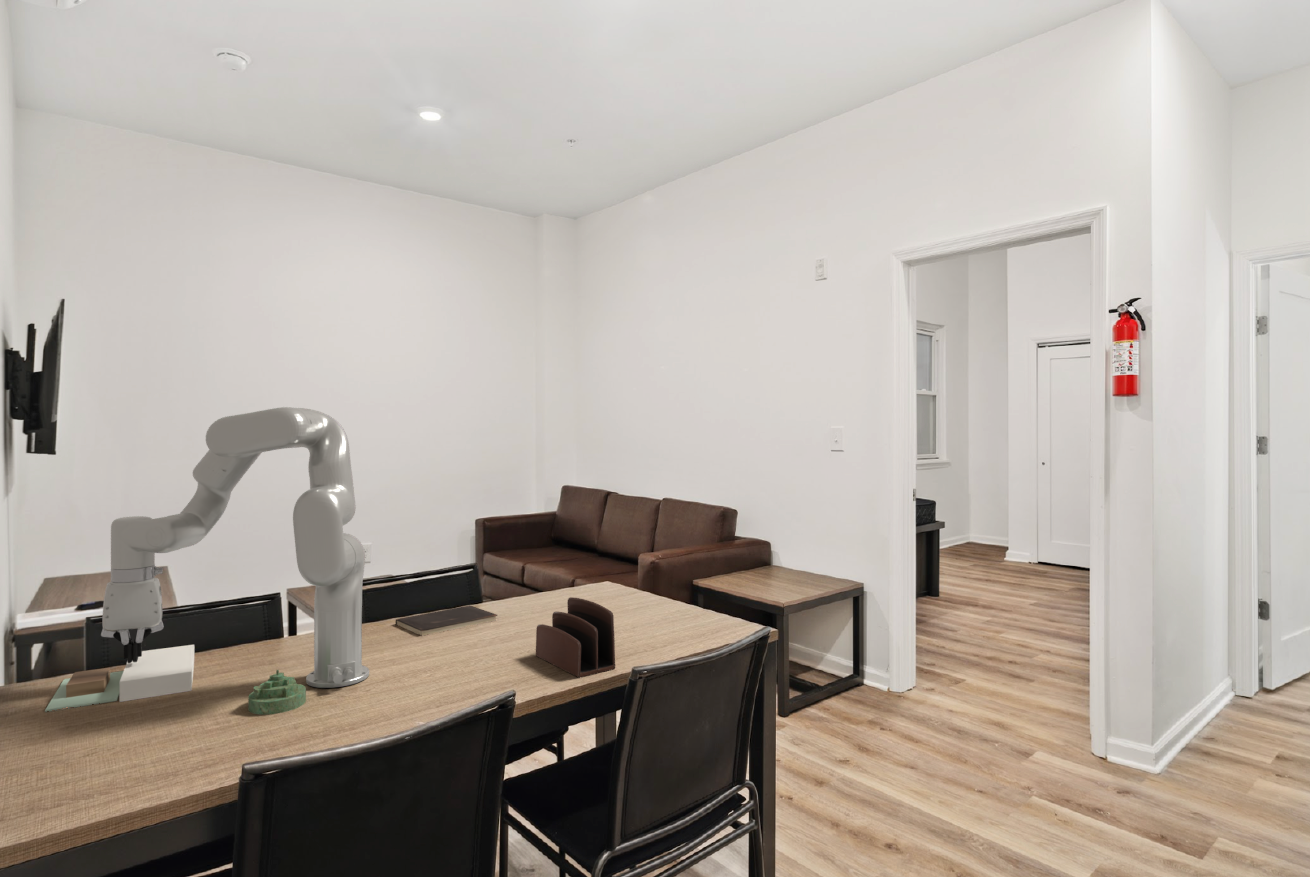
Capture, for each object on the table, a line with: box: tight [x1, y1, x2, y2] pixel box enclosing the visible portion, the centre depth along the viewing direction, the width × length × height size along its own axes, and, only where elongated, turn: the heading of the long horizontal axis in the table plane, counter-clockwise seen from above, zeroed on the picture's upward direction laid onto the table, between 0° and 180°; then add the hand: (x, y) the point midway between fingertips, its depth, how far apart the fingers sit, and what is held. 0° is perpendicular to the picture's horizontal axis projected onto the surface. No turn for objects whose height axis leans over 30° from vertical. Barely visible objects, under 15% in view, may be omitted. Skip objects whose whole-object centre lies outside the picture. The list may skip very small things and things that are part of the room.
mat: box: [44, 670, 124, 713], centre depth 147 cm, size 20×11×1 cm, turn 32°
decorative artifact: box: [247, 669, 307, 716], centre depth 140 cm, size 10×7×10 cm
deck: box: [119, 644, 195, 703], centre depth 153 cm, size 22×12×4 cm, turn 32°
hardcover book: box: [395, 605, 498, 637], centre depth 201 cm, size 16×23×2 cm
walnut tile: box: [66, 667, 111, 698], centre depth 147 cm, size 9×6×2 cm, turn 31°
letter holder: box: [535, 596, 616, 679], centre depth 166 cm, size 10×20×14 cm, turn 38°
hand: (132, 660), depth 151 cm, fingers closed
